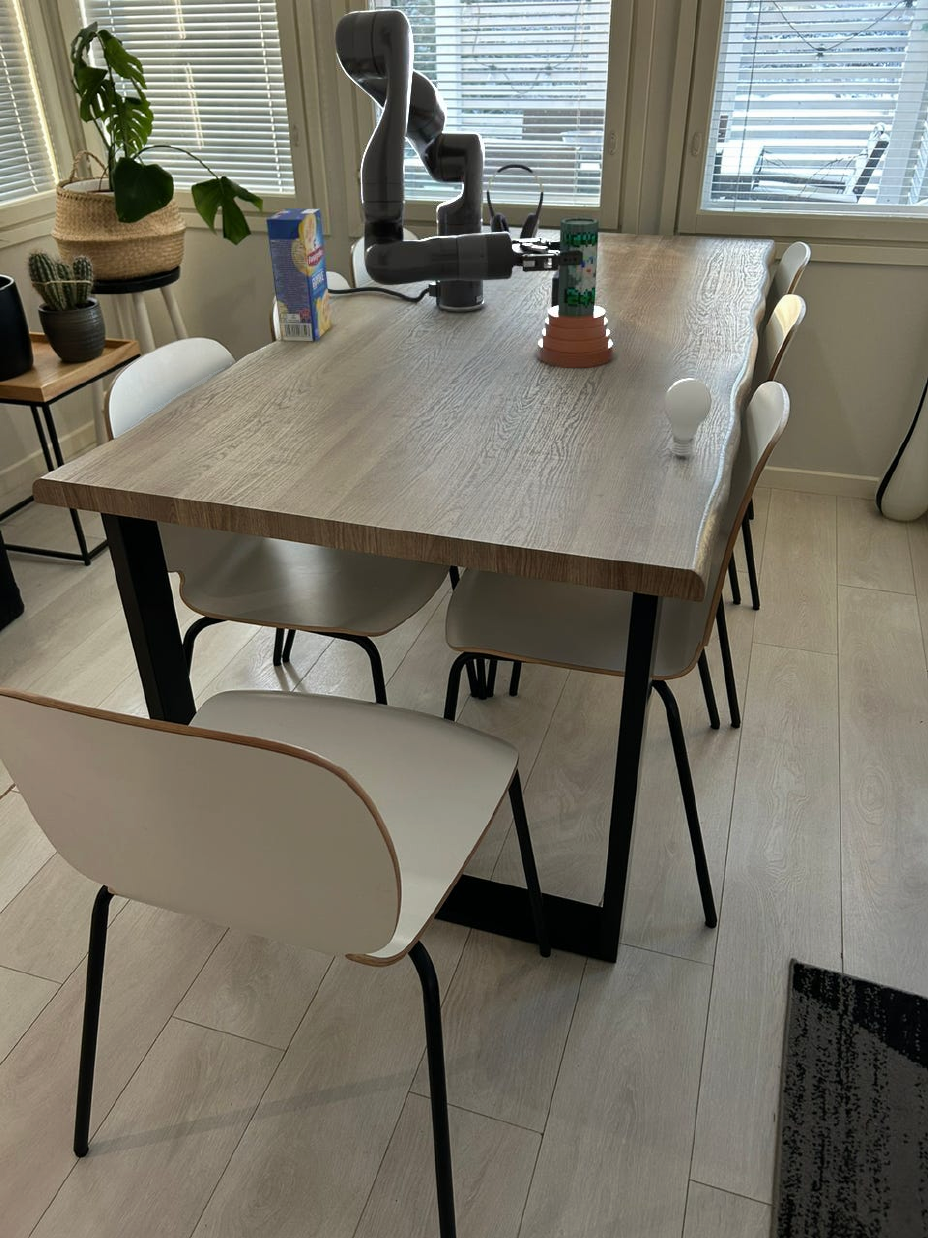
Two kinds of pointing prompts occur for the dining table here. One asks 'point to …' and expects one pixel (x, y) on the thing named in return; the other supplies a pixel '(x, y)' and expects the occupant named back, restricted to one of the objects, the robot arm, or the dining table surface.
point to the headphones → (498, 219)
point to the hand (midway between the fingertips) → (576, 252)
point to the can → (578, 267)
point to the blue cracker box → (299, 273)
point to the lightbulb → (686, 412)
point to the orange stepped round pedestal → (575, 340)
